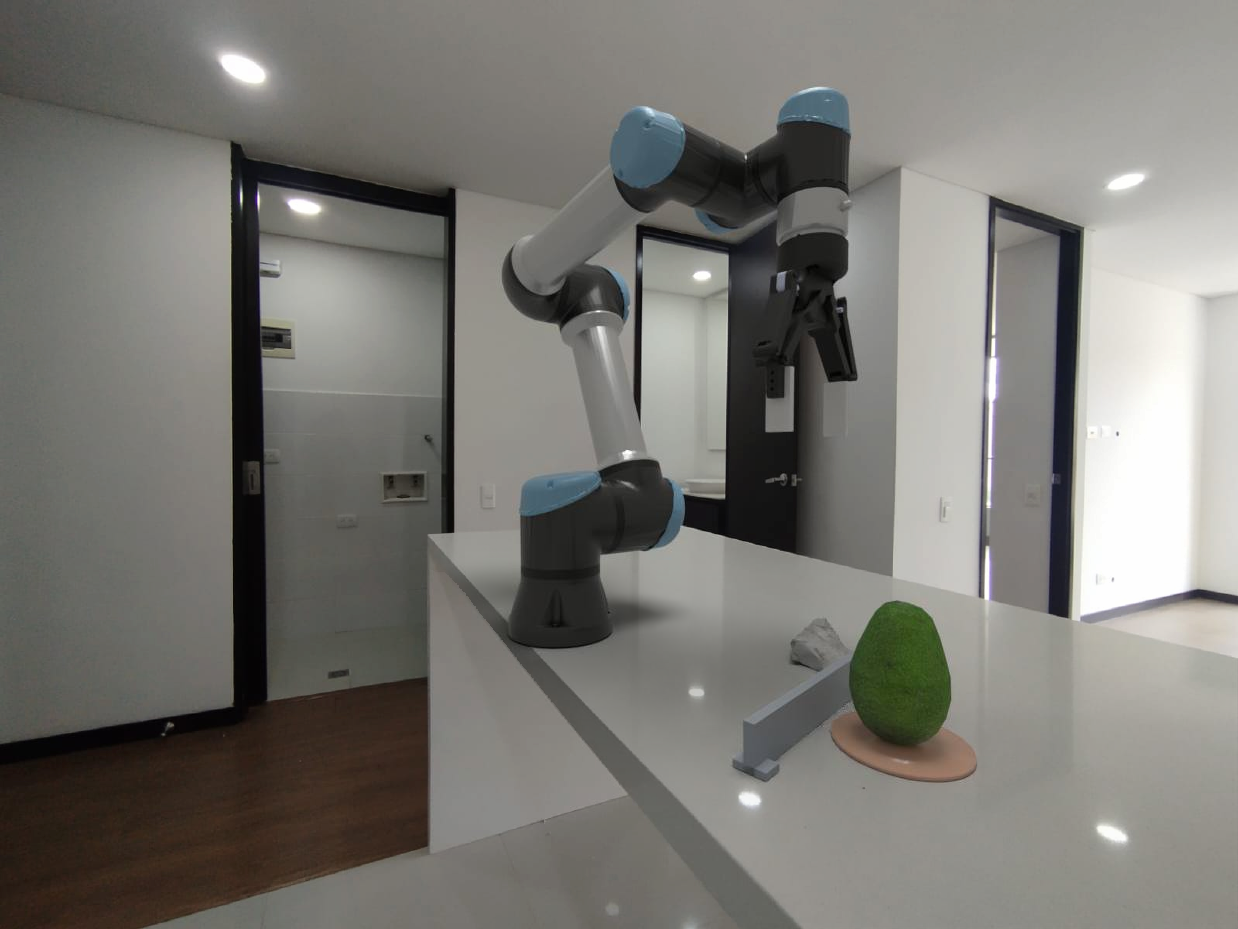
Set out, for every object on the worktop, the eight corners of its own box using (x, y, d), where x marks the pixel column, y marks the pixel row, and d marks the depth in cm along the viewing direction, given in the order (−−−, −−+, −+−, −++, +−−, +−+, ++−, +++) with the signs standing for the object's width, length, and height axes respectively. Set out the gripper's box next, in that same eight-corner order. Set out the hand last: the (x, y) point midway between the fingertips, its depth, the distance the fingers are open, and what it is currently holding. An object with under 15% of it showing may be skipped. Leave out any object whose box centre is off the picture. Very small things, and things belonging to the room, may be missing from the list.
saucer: (810, 745, 46) (810, 740, 46) (858, 704, 54) (858, 700, 54) (957, 800, 38) (957, 794, 38) (989, 743, 46) (989, 738, 46)
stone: (866, 652, 70) (865, 621, 70) (841, 679, 60) (841, 642, 61) (816, 644, 74) (815, 614, 74) (785, 668, 64) (785, 633, 64)
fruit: (964, 773, 41) (962, 616, 41) (852, 754, 44) (851, 607, 44) (941, 726, 48) (940, 593, 49) (846, 712, 51) (845, 587, 51)
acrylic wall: (732, 766, 43) (732, 716, 43) (842, 685, 58) (842, 649, 58) (766, 781, 41) (766, 729, 41) (871, 693, 56) (870, 655, 56)
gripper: (788, 190, 48) (786, 427, 48) (887, 263, 65) (885, 437, 65) (718, 216, 53) (716, 430, 53) (827, 278, 71) (825, 438, 71)
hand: (809, 434), depth 59 cm, fingers open, 13 cm apart
